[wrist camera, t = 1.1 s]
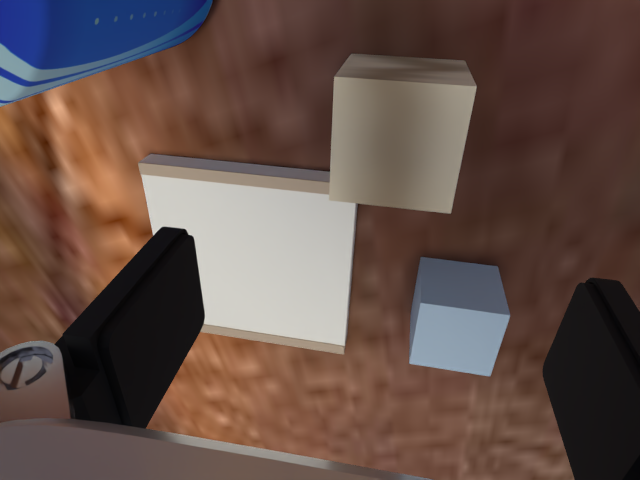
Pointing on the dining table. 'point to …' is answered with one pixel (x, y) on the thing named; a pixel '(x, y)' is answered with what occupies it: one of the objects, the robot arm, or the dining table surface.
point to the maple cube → (399, 131)
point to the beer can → (84, 38)
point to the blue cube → (457, 316)
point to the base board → (261, 246)
